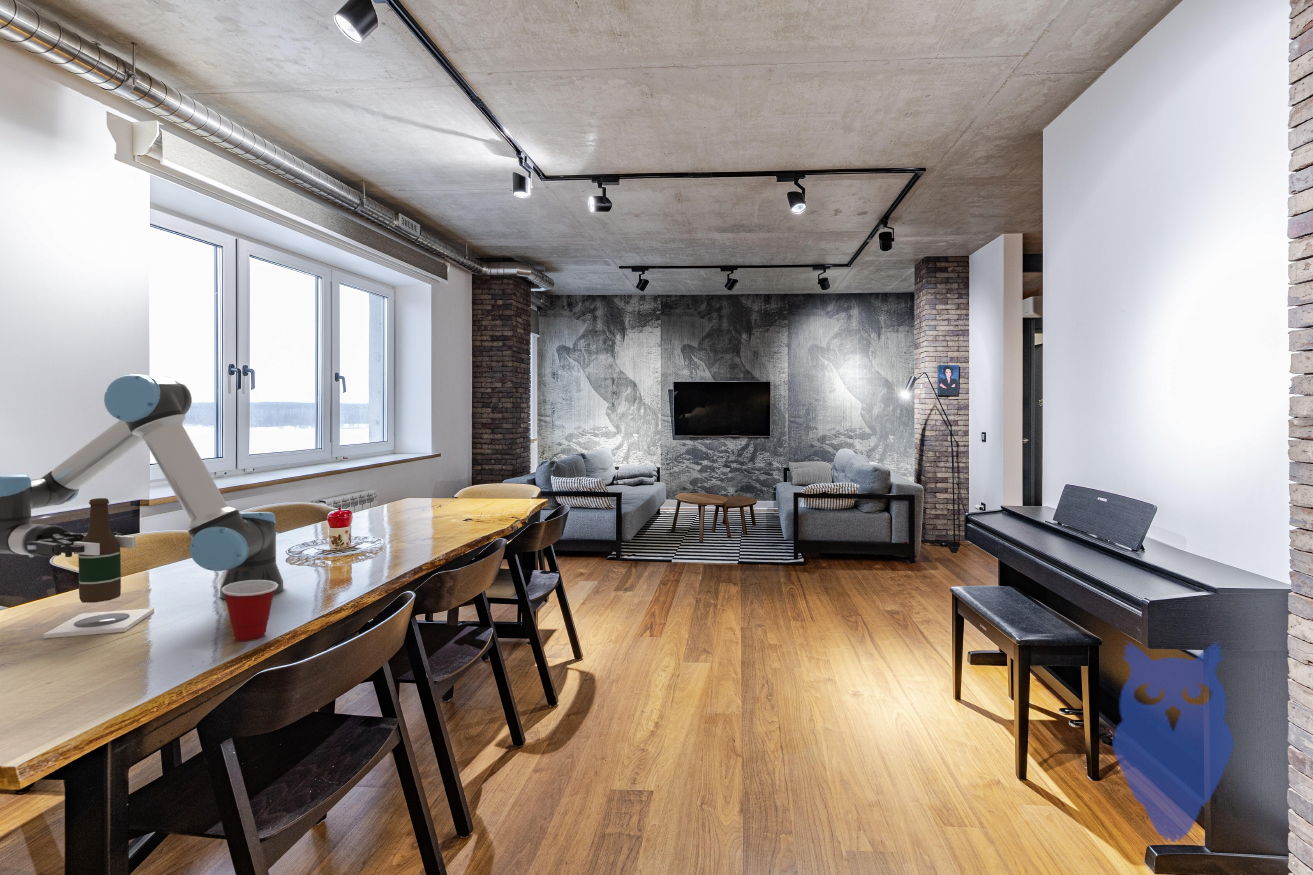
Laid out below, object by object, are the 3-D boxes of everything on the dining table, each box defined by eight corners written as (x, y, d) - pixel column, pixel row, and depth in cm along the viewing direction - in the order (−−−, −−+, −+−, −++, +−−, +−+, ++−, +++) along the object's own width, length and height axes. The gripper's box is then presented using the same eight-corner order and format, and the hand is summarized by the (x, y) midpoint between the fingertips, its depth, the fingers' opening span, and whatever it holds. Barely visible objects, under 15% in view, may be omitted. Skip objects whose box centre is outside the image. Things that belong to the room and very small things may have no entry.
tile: (154, 611, 158) (154, 607, 158) (125, 631, 144) (125, 626, 144) (81, 617, 153) (80, 612, 153) (43, 638, 139) (43, 633, 139)
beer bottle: (129, 595, 151) (128, 497, 150) (91, 604, 143) (90, 501, 142) (108, 592, 153) (107, 495, 152) (70, 601, 146) (68, 499, 145)
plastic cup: (251, 647, 135) (250, 593, 134) (209, 643, 137) (208, 589, 136) (290, 630, 145) (289, 580, 145) (251, 627, 148) (250, 577, 147)
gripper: (86, 547, 161) (158, 552, 157) (-12, 565, 141) (68, 571, 137) (85, 518, 161) (158, 523, 157) (-12, 532, 141) (67, 538, 137)
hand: (116, 545), depth 147 cm, fingers closed on beer bottle, 7 cm apart
